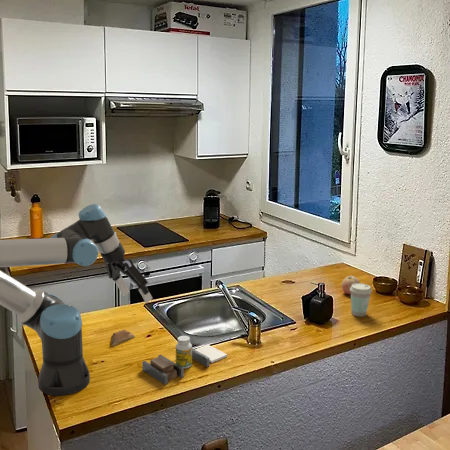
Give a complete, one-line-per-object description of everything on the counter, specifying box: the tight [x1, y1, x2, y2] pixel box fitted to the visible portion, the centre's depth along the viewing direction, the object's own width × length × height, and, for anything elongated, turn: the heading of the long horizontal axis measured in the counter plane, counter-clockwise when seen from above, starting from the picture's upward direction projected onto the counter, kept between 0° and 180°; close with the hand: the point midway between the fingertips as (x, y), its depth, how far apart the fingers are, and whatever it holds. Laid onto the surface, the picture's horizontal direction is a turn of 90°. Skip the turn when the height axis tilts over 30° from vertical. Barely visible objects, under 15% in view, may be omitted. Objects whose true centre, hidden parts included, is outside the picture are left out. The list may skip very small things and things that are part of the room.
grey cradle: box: [141, 347, 210, 386], centre depth 178 cm, size 18×12×3 cm, turn 133°
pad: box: [194, 344, 228, 364], centre depth 188 cm, size 7×10×1 cm
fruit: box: [341, 275, 360, 296], centre depth 247 cm, size 8×8×8 cm
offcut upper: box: [149, 356, 173, 373], centre depth 174 cm, size 4×7×2 cm, turn 41°
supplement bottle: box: [175, 335, 193, 370], centre depth 179 cm, size 5×5×10 cm
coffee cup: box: [350, 283, 373, 318], centre depth 224 cm, size 9×8×12 cm
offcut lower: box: [165, 369, 178, 381], centre depth 175 cm, size 4×9×2 cm, turn 42°
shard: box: [111, 329, 136, 348], centre depth 198 cm, size 11×8×2 cm
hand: (137, 297), depth 190 cm, fingers open, 13 cm apart
